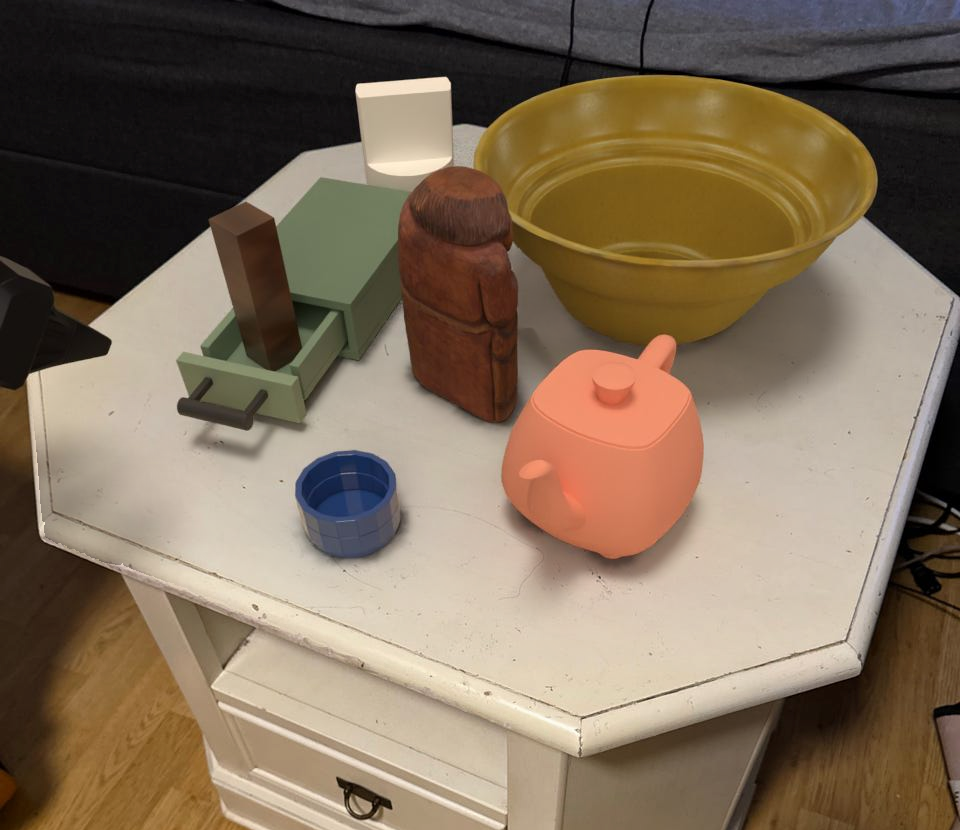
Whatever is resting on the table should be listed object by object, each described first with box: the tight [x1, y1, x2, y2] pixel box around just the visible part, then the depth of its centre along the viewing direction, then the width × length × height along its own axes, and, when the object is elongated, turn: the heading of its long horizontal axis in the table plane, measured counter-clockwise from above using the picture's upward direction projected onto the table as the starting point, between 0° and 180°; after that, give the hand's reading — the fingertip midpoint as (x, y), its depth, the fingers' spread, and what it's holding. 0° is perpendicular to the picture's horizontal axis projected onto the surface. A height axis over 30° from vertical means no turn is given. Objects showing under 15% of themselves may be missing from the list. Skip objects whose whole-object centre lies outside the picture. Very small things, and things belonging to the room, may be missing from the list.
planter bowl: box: [472, 74, 879, 347], centre depth 75 cm, size 32×32×13 cm
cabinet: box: [276, 176, 412, 361], centre depth 80 cm, size 19×12×6 cm, turn 161°
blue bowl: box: [294, 449, 402, 559], centre depth 63 cm, size 7×7×4 cm
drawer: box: [175, 301, 348, 431], centre depth 73 cm, size 22×10×4 cm, turn 161°
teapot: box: [501, 335, 705, 560], centre depth 60 cm, size 13×20×12 cm, turn 146°
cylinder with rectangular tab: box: [355, 76, 455, 192], centre depth 86 cm, size 9×9×12 cm
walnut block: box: [208, 201, 302, 372], centre depth 69 cm, size 4×4×12 cm
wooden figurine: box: [398, 165, 519, 423], centre depth 66 cm, size 12×6×18 cm, turn 49°
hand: (71, 318), depth 57 cm, fingers open, 9 cm apart
